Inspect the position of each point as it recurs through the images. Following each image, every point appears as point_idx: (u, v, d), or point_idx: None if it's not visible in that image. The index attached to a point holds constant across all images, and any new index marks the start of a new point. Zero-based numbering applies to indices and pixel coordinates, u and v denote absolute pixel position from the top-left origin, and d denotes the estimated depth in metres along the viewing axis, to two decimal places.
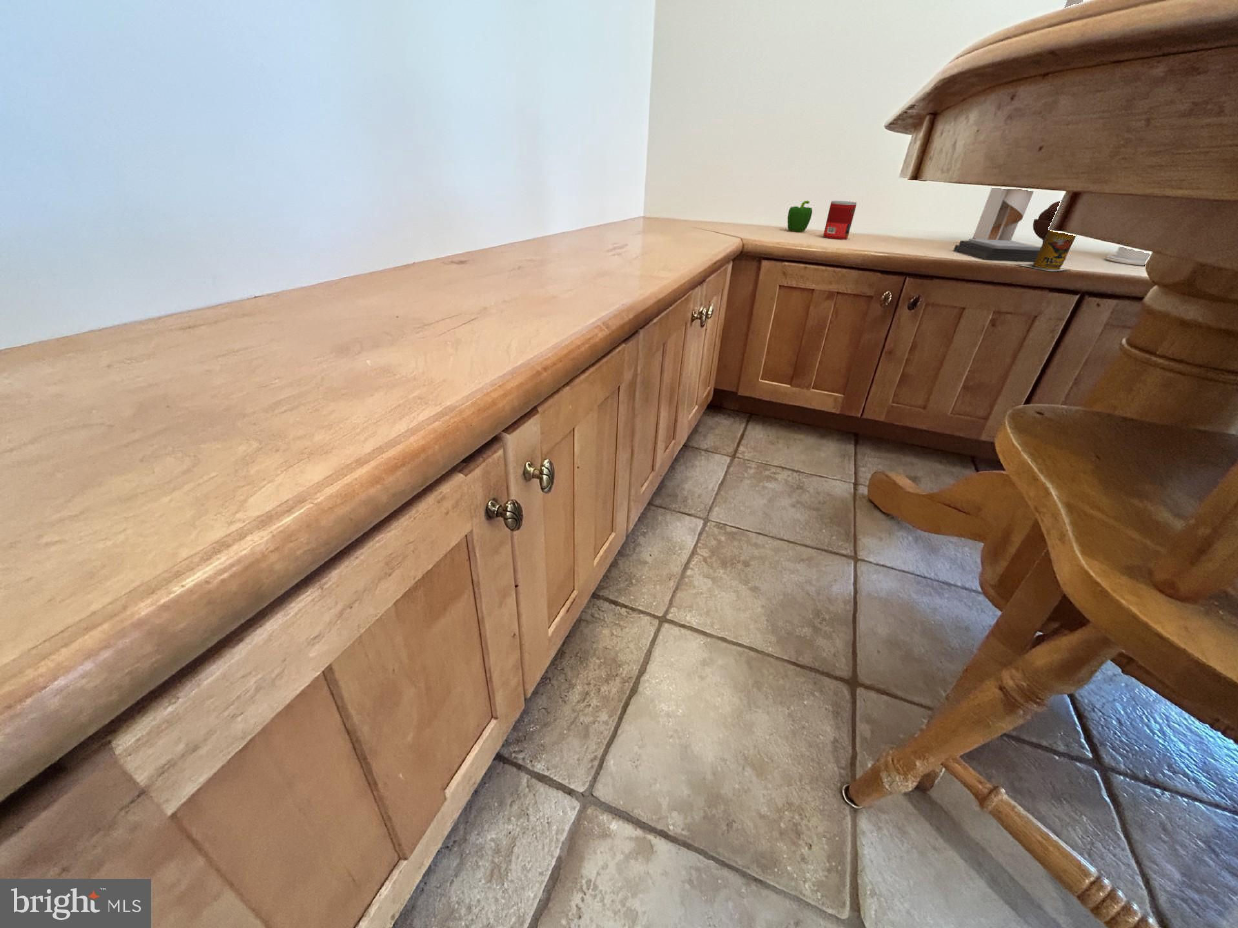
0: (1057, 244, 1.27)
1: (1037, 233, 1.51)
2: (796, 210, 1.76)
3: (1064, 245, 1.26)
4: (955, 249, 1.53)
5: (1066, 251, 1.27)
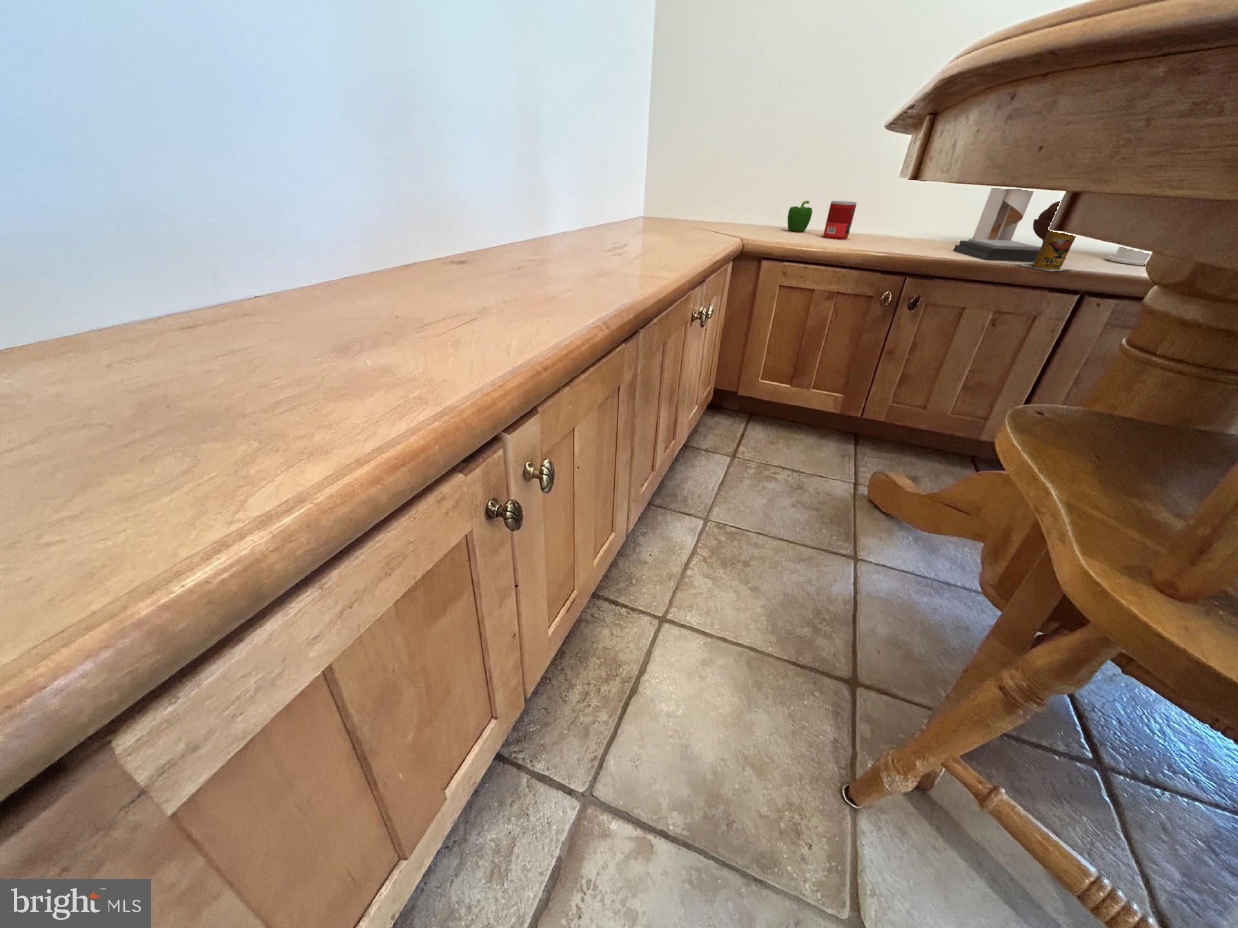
0: (1057, 244, 1.27)
1: (1037, 233, 1.51)
2: (796, 210, 1.76)
3: (1064, 245, 1.26)
4: (955, 249, 1.53)
5: (1066, 251, 1.27)
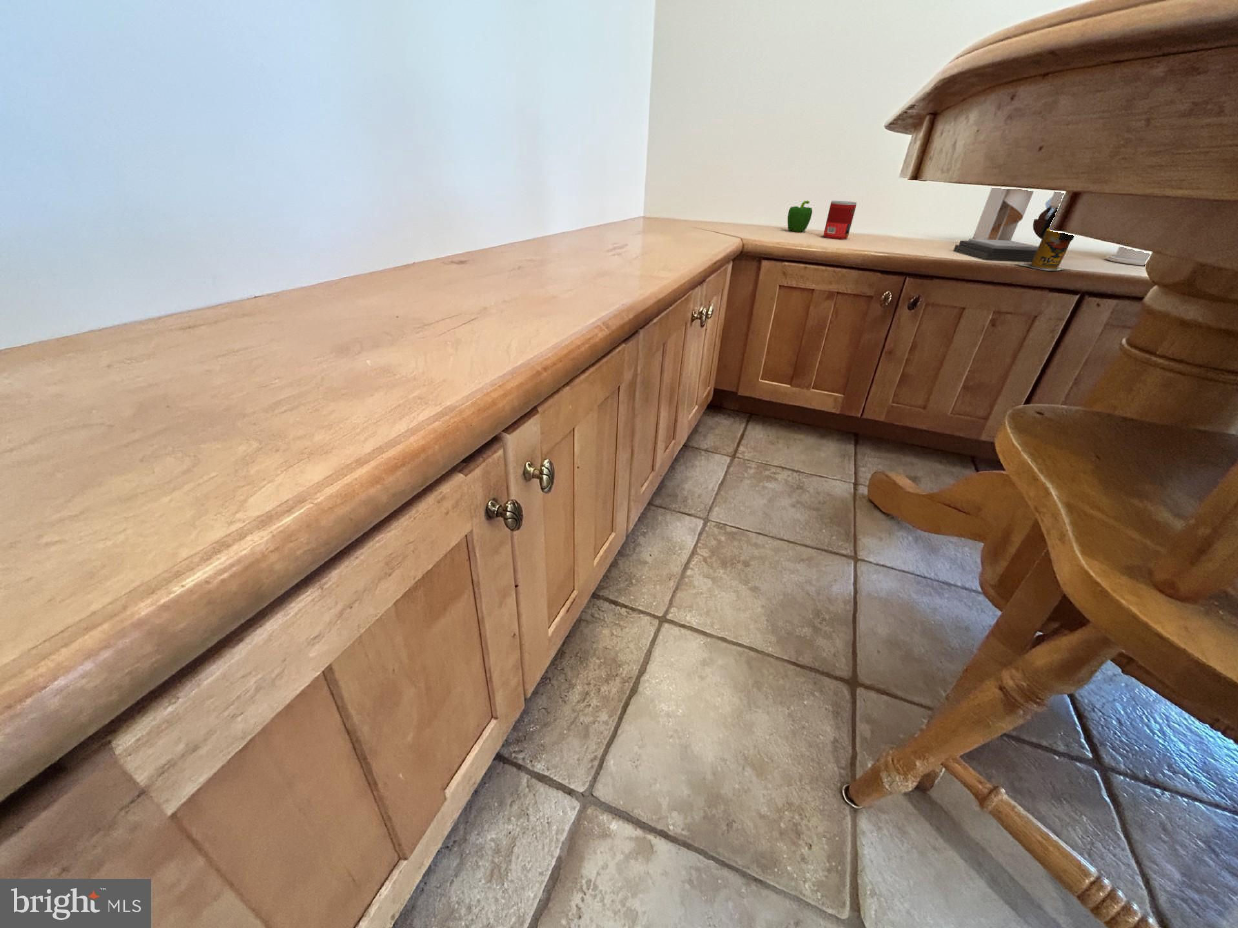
0: (1054, 244, 1.27)
1: (1037, 233, 1.51)
2: (796, 210, 1.76)
3: (1061, 244, 1.26)
4: (955, 249, 1.53)
5: (1063, 250, 1.27)
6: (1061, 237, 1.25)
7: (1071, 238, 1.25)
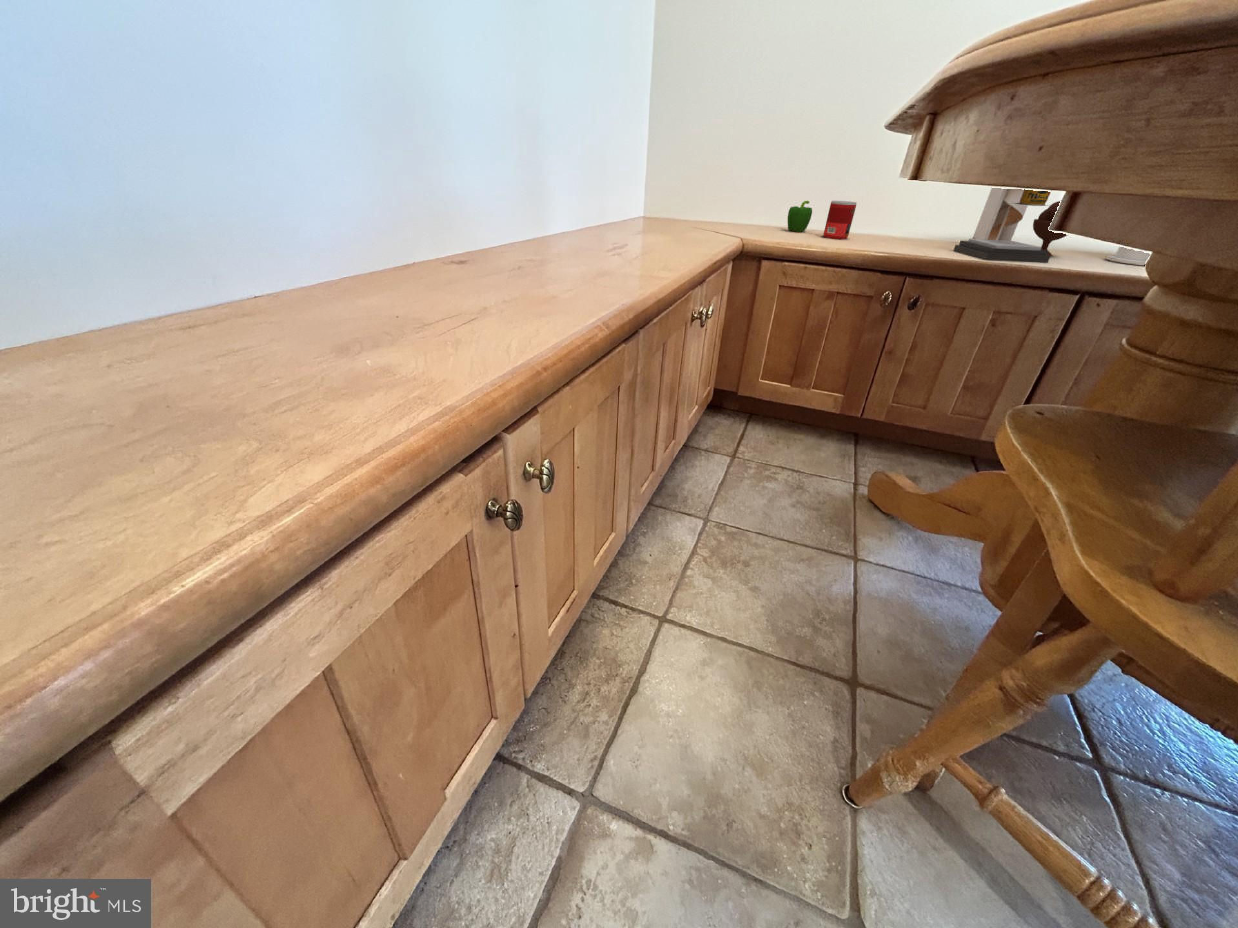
0: None
1: (1037, 233, 1.51)
2: (796, 210, 1.76)
3: None
4: (955, 249, 1.53)
5: None
6: None
7: None
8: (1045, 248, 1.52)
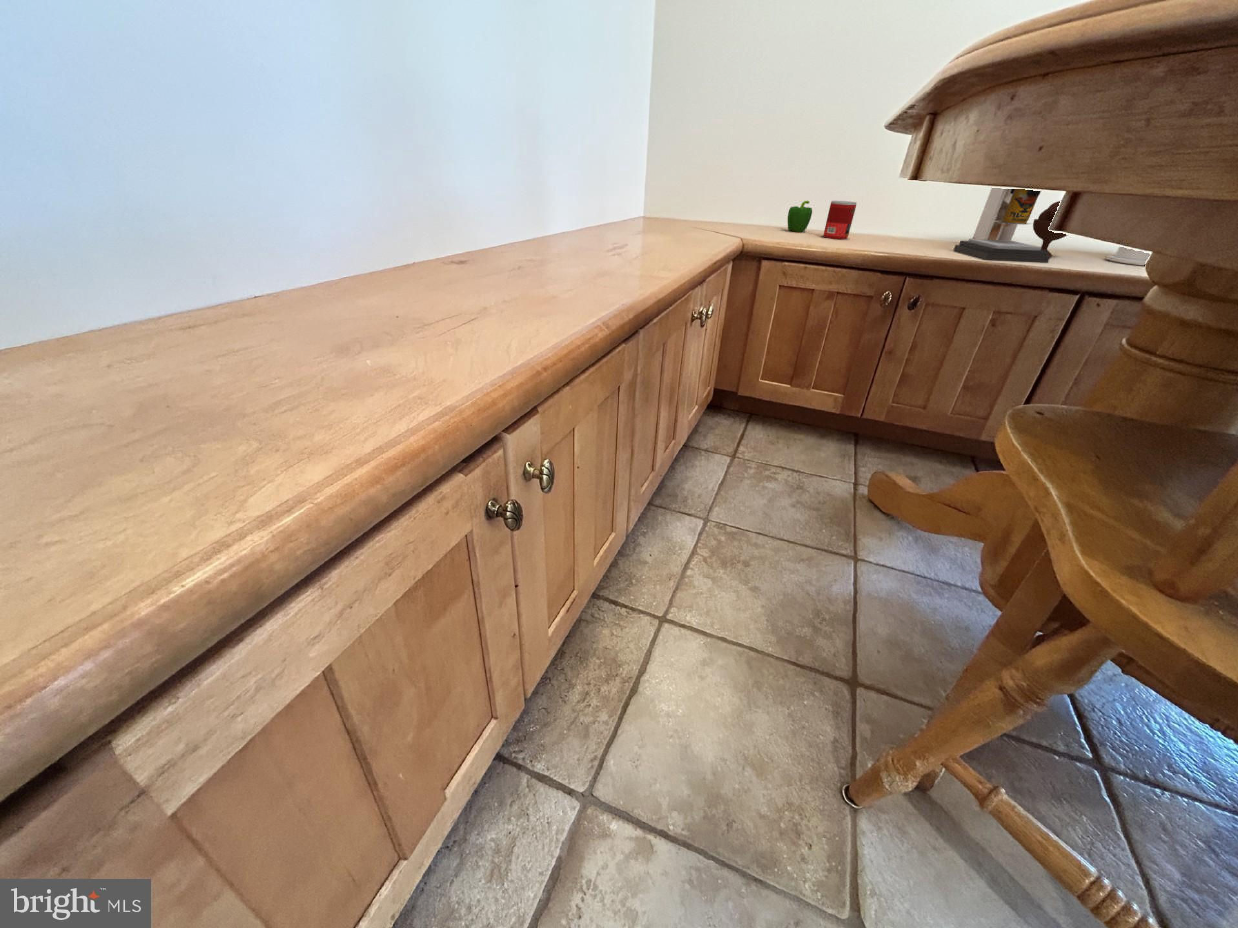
0: (1022, 199, 1.38)
1: (1037, 233, 1.51)
2: (796, 210, 1.76)
3: (1029, 200, 1.37)
4: (955, 249, 1.53)
5: (1031, 206, 1.38)
6: (1028, 193, 1.36)
7: (1038, 193, 1.36)
8: (1045, 248, 1.52)
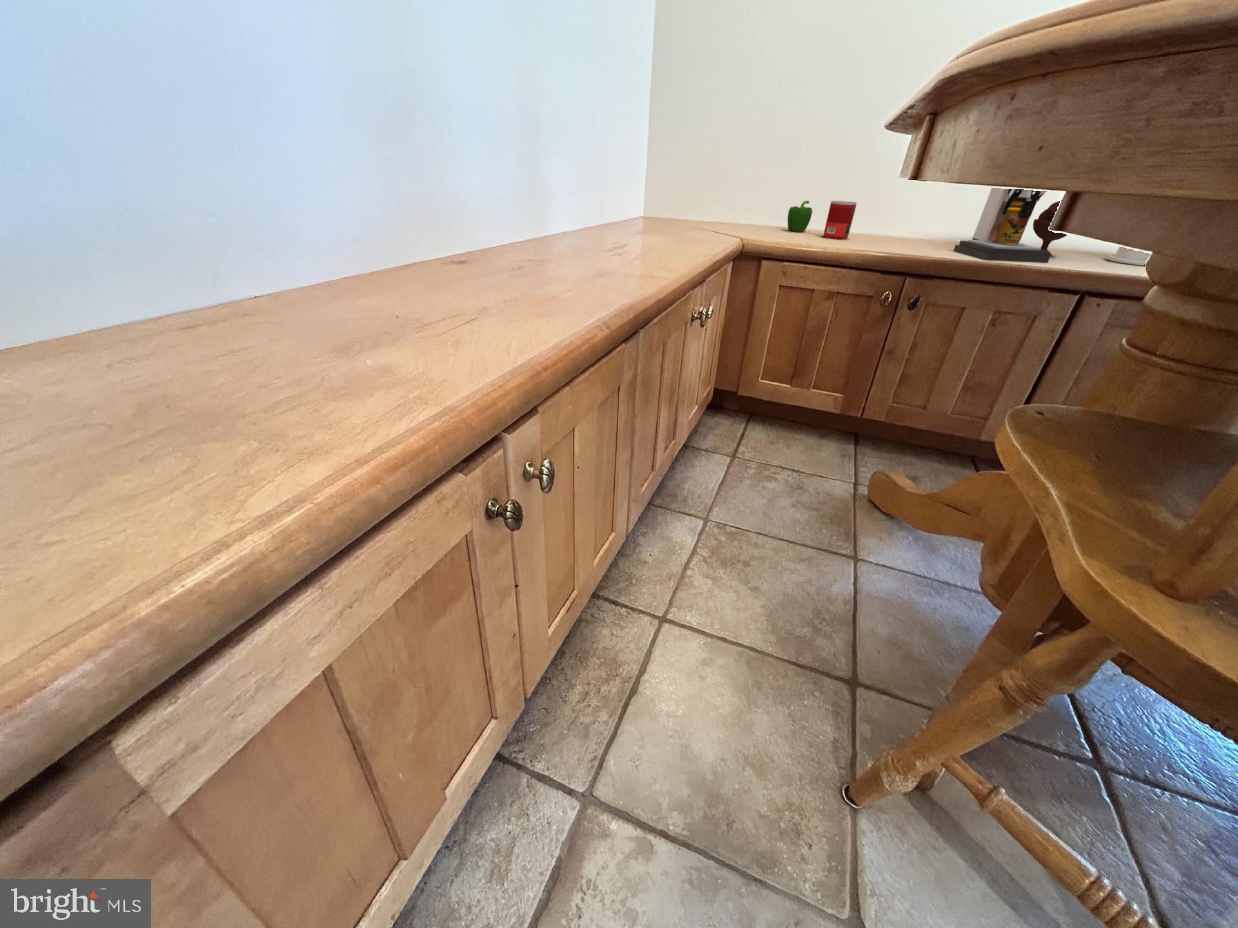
0: (1014, 221, 1.41)
1: (1037, 233, 1.51)
2: (796, 210, 1.76)
3: (1020, 221, 1.40)
4: (955, 249, 1.53)
5: (1022, 227, 1.41)
6: (1020, 215, 1.39)
7: (1029, 215, 1.39)
8: (1045, 248, 1.52)
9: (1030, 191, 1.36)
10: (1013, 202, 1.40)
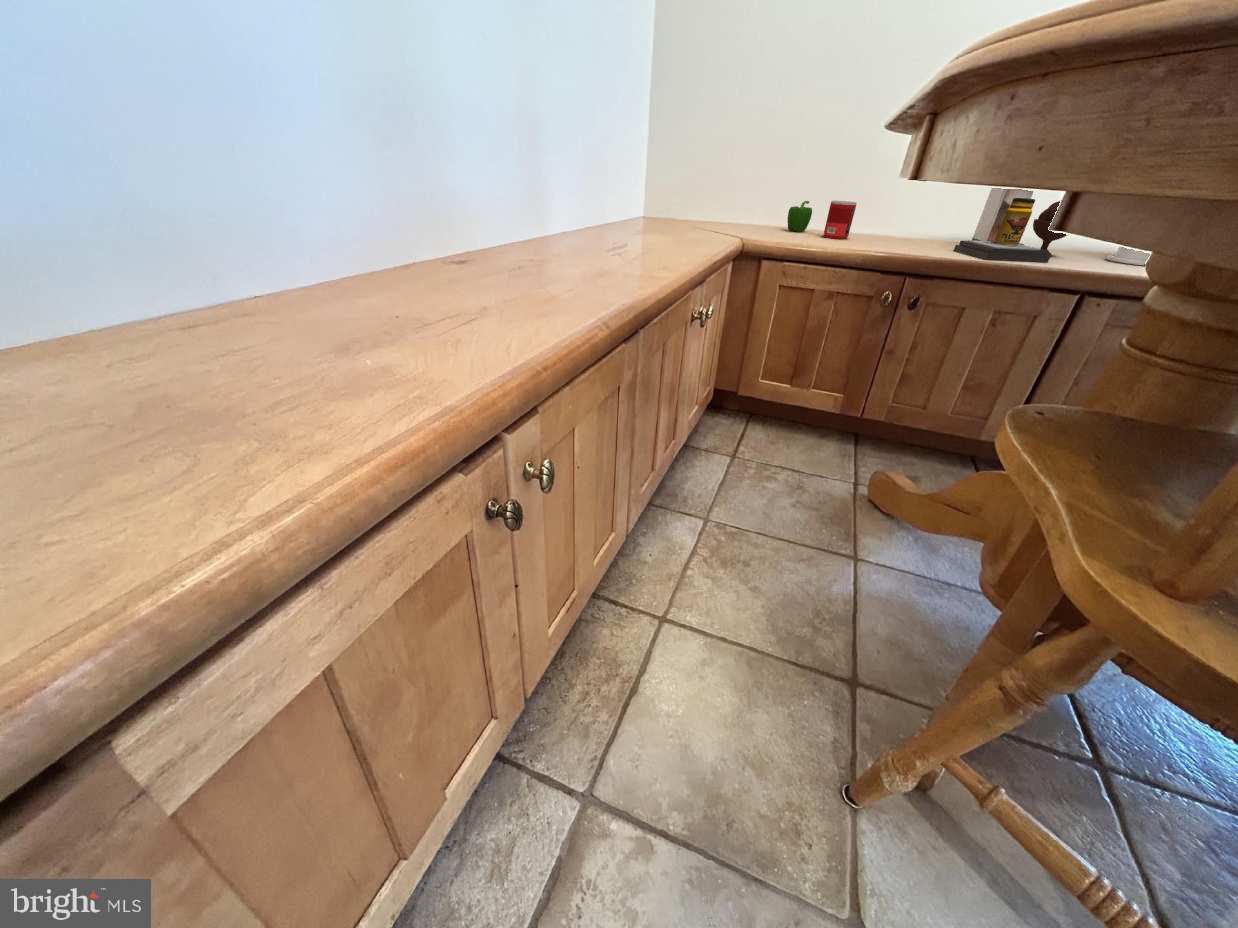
0: (1014, 222, 1.41)
1: (1037, 233, 1.51)
2: (796, 210, 1.76)
3: (1020, 222, 1.40)
4: (955, 249, 1.53)
5: (1022, 228, 1.41)
6: None
7: None
8: (1045, 248, 1.52)
9: None
10: (1013, 203, 1.40)
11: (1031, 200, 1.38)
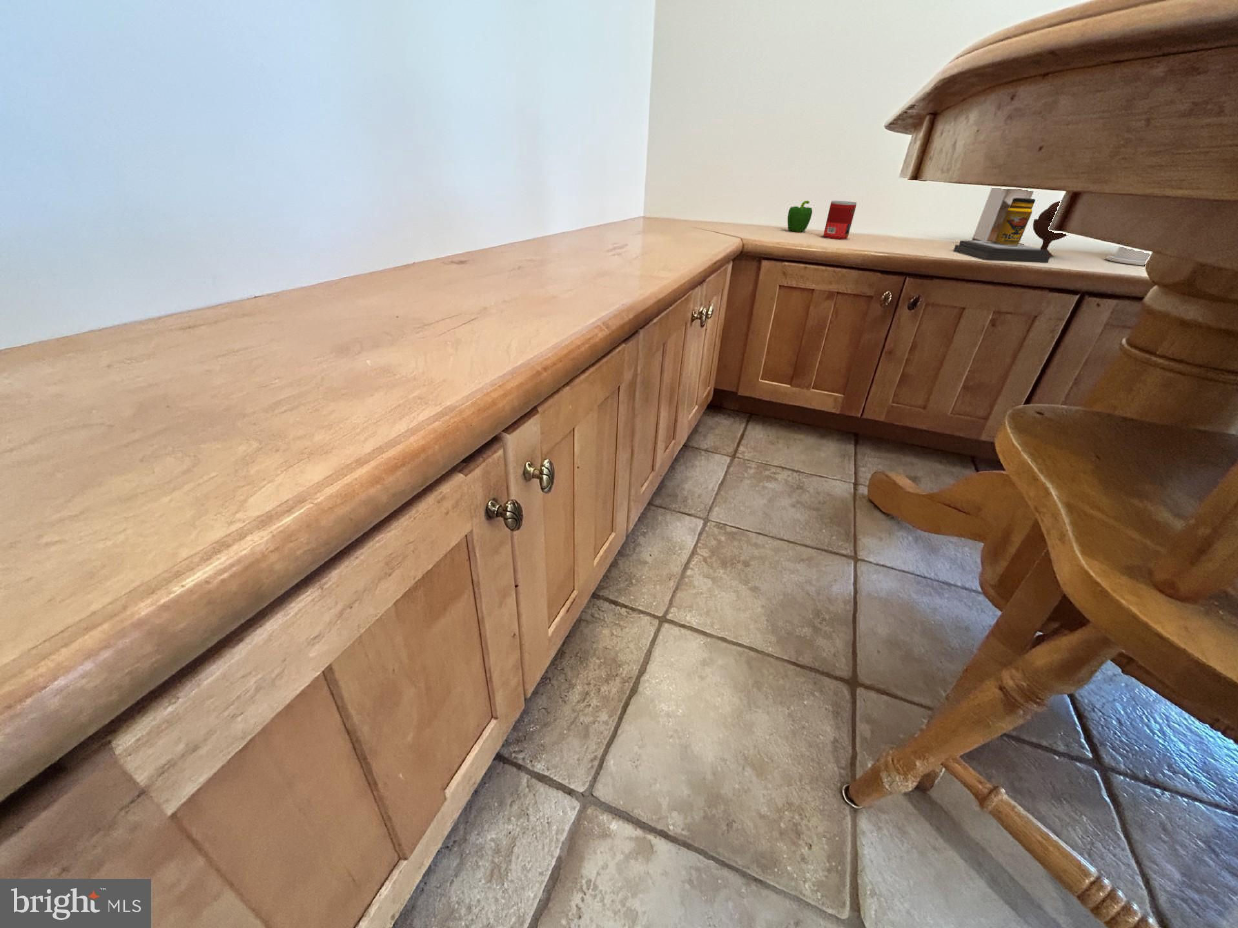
0: (1014, 222, 1.41)
1: (1037, 233, 1.51)
2: (796, 210, 1.76)
3: (1020, 222, 1.40)
4: (955, 249, 1.53)
5: (1022, 228, 1.41)
6: None
7: None
8: (1045, 248, 1.52)
9: None
10: (1013, 203, 1.40)
11: (1031, 200, 1.38)
